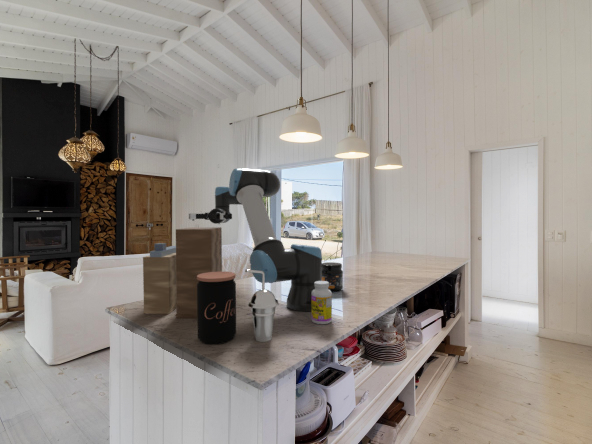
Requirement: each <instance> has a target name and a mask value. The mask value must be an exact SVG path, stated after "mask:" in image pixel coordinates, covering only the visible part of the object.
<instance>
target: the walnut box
mask: <svg viewBox="0 0 592 444" xmlns="http://www.w3.org/2000/svg"><path fill="white" fill-rule="evenodd" d="M222 244H223V243H222V227H217V226H216V227H215V226H213V227H183V228H177V229H175V246H176V287H177V308H176V314H175V318H176V319H197V284H198V282H199V281H198V280H197V275H199V274H202V273H207V272H223V264H222V263H223V260H222V259H223V254H222V253H223V251H222V250H223V249H222V247H223V245H222Z"/></svg>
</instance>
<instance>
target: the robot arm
mask: <svg viewBox="0 0 592 444" xmlns="http://www.w3.org/2000/svg"><path fill="white" fill-rule="evenodd" d="M228 182H229V184H228V185H229V186H216V187H215V188H214V189H215V191H214V201H215V202H214V205H215V206H214V207H215V208H213V209H211V210H210V211H209V212H203V213H202V212H201V213H192V212H191V213H188V219H189V220H192V221H193V222H194V221H195V220H205V221H206V220H207V221H208V220H209V221H210V222H211V223H212V224H217V225H221V224H224V223H225V224H226V223H228V222H229V221H230V220H233V214H232V212H231V210H230V205H236V206H237V205H242V208H243V210H244V215H245V218H246V221H247V224H248V227H249V231H250V234H251V238H252V241H253V244H254V247H253V249H252V252H251V254H250V257H249V263H250V266H249V267H250V270H258V271H263V272H264V275H265V284H273V283H278V282H287V281H290V283H291V285H290V288H289V291H288V295H287V298H286V307H287V308H288V309H290V310H294V311H300V312H311V293H312V291H313V290H314V289H315V286H314V282H316V281H322V263H323V261H322V260H323V257H322V256H323V254H322V249H321V248H320V247H319V246H315V245H314V246H313V245H307V244H306V245H305V244H297V243H296V244H295V243H292V244H291V246H290V248H285V247H284V243H283V242H282V241H281V239H277V236H276V234H275V230H274V228H273V225H272V222H271V219H270V216H269V214H268V210H267V208H266V205H265V202H264V200H263V198H265V197H266V198H271V197H272V196H275V195H277V194H278V192H279V191H280V189H281V182H280V179H279V177H278V175H276V174H275V173H274V172H273V171H270V170H265V169H256V168H255V169H254V168H253V169H252V168H244V167H241V168H234V169H233V170H232V172H231V173H230V177H229V181H228ZM251 274H252V275H253V278H254V279H255V280H256V281H257V282H259V283H260V284H262V274H261V273H251Z"/></svg>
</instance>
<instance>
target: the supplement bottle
mask: <svg viewBox="0 0 592 444" xmlns="http://www.w3.org/2000/svg"><path fill="white" fill-rule="evenodd" d="M314 286H315V289H314V290H313V291H312V293H311V311H310V312H311V322H312V323H314V324H318V325H326V324H330V323H331V322H332V318H333V316H332V313H333V310H332V309H333V307H332V305H333V302H332V300H333V292H331V291H330V290H329V289H328V287H329V282H327V281H316V282H314Z"/></svg>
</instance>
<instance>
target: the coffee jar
mask: <svg viewBox="0 0 592 444" xmlns="http://www.w3.org/2000/svg"><path fill="white" fill-rule="evenodd" d="M236 276H237V275H236V273H234V272H232V271H222V272H207V273H202V274H199V275H197V280H198V281H199V282H198V284H197V318H196V319H197V320H196V321H197V322H196V323H197V324H196V325H197V339H199V341H200V342H201V343H203V344H205V345H220V344H226V343H228V342H230V341H232V340H234V337H235V335H237V292H236V291H237V290H236V289H237V288H236V287H237V286H236V284H237V283H236V281H235V278H236Z"/></svg>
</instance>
